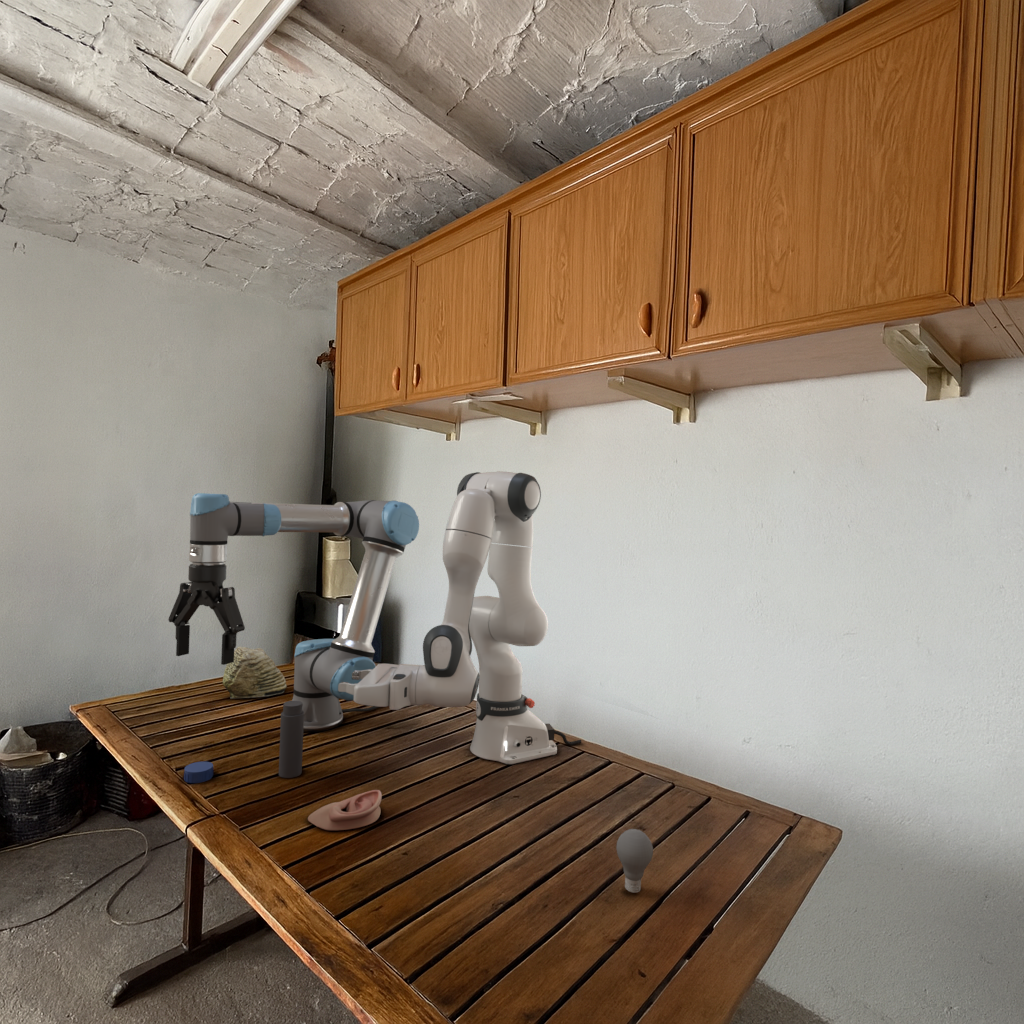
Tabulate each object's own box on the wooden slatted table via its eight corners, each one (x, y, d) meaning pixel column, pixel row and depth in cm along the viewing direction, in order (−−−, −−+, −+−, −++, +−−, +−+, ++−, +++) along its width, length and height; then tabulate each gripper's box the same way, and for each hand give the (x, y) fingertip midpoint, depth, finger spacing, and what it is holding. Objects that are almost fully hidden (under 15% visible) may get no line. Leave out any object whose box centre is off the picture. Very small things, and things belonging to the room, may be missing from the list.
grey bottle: (303, 775, 143) (306, 705, 143) (280, 779, 141) (283, 708, 141) (299, 767, 148) (301, 698, 147) (276, 770, 145) (279, 701, 145)
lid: (195, 770, 144) (196, 759, 144) (218, 773, 143) (219, 762, 143) (177, 781, 138) (178, 770, 138) (201, 784, 137) (202, 773, 137)
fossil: (218, 695, 195) (220, 647, 195) (278, 685, 208) (279, 640, 207) (228, 703, 189) (230, 653, 188) (289, 692, 201) (290, 645, 201)
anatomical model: (300, 805, 121) (329, 780, 132) (299, 826, 121) (328, 798, 133) (364, 815, 119) (388, 788, 130) (363, 836, 119) (387, 807, 130)
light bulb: (610, 879, 108) (613, 822, 108) (644, 879, 109) (647, 822, 109) (619, 902, 102) (622, 840, 102) (655, 901, 103) (658, 840, 103)
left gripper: (152, 560, 141) (149, 654, 141) (237, 569, 131) (233, 671, 132) (182, 557, 148) (179, 648, 148) (264, 566, 138) (260, 663, 139)
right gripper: (416, 658, 153) (360, 655, 154) (396, 683, 132) (331, 678, 133) (415, 684, 153) (359, 681, 154) (394, 713, 132) (330, 708, 133)
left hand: (204, 659), depth 140 cm, fingers open, 13 cm apart
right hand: (346, 680), depth 143 cm, fingers open, 8 cm apart
